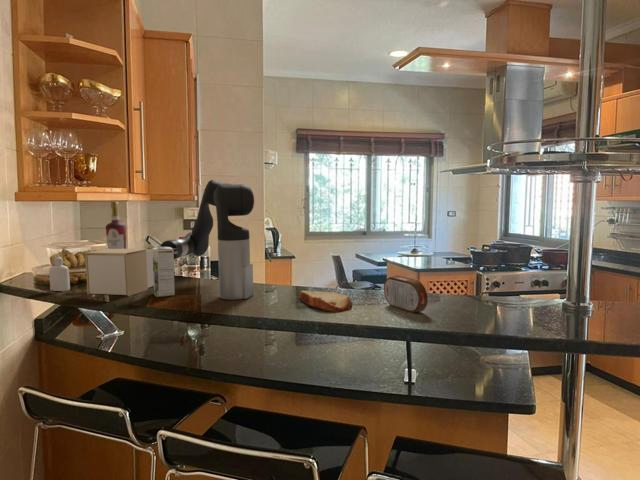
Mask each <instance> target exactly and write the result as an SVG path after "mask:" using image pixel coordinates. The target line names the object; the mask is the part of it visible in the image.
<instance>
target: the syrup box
mask: <svg viewBox="0 0 640 480" xmlns="http://www.w3.org/2000/svg"><path fill="white" fill-rule="evenodd" d="M152 249H153V284H154V286H153V294H154V296H155V297H156V298H162V297H169V296H175V294H176V292H175V289H176V288H175V262H174V261H175V259H174V254H173V249H172V248H171V247H159V246H157V247H152Z"/></svg>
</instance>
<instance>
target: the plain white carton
mask: <svg viewBox="0 0 640 480" xmlns="http://www.w3.org/2000/svg"><path fill="white" fill-rule="evenodd" d="M145 249H146V260H147V281H148V289H149V288H151V287H154V284H153V248H150V249H147V248H145ZM87 257H88V273H89V290H90V293H91V294H92V295H93V294H97V295H114V296H115V295H117V296H120V295H121V296H127V281H126V262H125V255H102V254H91V255H87ZM91 294H90V295H91Z"/></svg>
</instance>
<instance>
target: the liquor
mask: <svg viewBox="0 0 640 480" xmlns="http://www.w3.org/2000/svg"><path fill="white" fill-rule="evenodd" d="M110 207H111V222H109V223H107V224H105V233H106V234H105V236H106V243H107V249H127V225H126V224H125V223H123V222H121V220H120V213H119V201H110Z"/></svg>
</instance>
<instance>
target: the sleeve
mask: <svg viewBox="0 0 640 480" xmlns="http://www.w3.org/2000/svg"><path fill="white" fill-rule="evenodd" d="M146 249H147V248H126V249H108V248H104V249H96V250H92V251H86V252H84V258H85V274H86V289H87V290H86V291H87V292H86V293H87V295H91V293H90V290H89V273H88V257H87V255H91V254H102V255H125V262H126V281H127V295H126V296H127V297H130V296H133V295H136V294H139V293H142V292H145V291H148V290H149V288H148V281H147V260H146Z"/></svg>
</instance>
